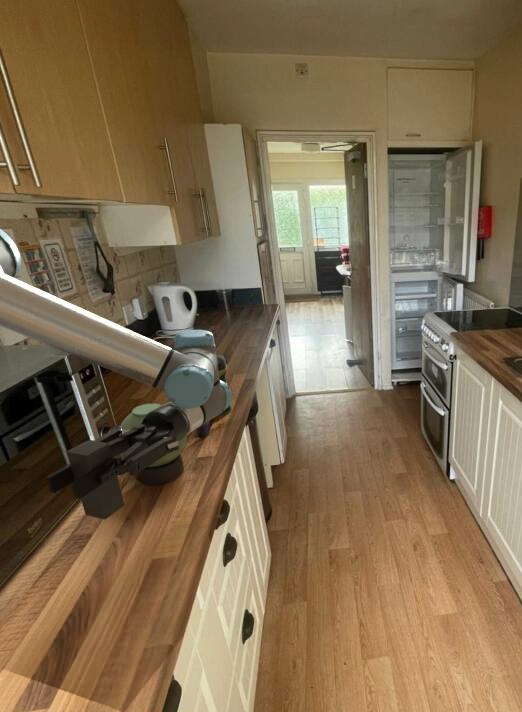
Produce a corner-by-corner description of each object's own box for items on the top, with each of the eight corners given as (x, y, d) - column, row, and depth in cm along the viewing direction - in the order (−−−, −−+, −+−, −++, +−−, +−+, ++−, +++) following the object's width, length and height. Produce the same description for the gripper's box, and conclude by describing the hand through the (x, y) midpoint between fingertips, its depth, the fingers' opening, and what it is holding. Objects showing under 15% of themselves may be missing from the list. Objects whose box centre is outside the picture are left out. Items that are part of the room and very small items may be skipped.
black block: (85, 515, 70) (65, 451, 65) (106, 500, 74) (88, 439, 69) (105, 519, 69) (86, 455, 64) (125, 505, 73) (109, 443, 68)
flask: (202, 423, 126) (196, 390, 122) (212, 422, 127) (207, 389, 123) (197, 438, 118) (191, 403, 114) (208, 437, 119) (203, 402, 115)
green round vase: (113, 484, 98) (94, 417, 91) (158, 454, 110) (144, 393, 103) (165, 495, 94) (149, 426, 88) (205, 462, 107) (194, 400, 100)
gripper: (213, 444, 84) (115, 519, 63) (140, 432, 88) (25, 498, 67) (208, 410, 81) (103, 476, 60) (133, 398, 85) (10, 457, 64)
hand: (62, 488), depth 63 cm, fingers closed on black block, 4 cm apart
